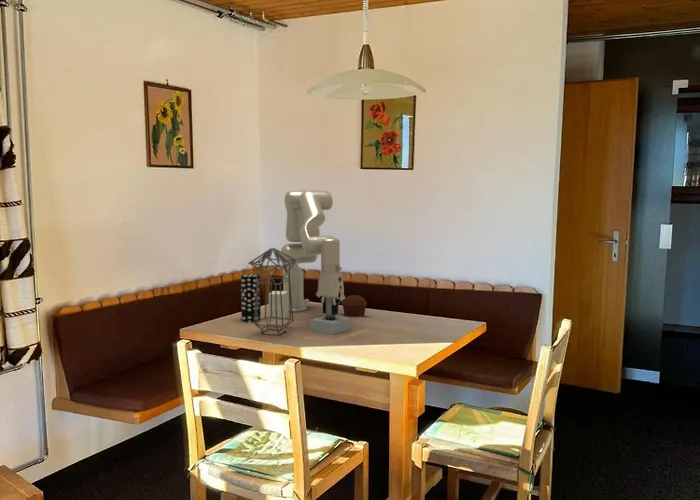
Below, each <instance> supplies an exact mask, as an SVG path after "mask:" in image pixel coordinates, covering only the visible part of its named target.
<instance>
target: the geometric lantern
mask: <svg viewBox="0 0 700 500" xmlns="http://www.w3.org/2000/svg"><path fill="white" fill-rule="evenodd" d="M272 254H274V257H275V258H272ZM281 254H283V255H285V256H287V257H289V258H291V259H289V260H286V259H285V258H284V257H283V256H282V255H281ZM256 260H257V261H256ZM266 260H267V262H266V265H264V263H265V261H266ZM274 261H276V262H277V263H276V262H274ZM288 261H291V262H290V263H289V262H288ZM296 261H297V260H296V259H294V258H292V257H290V256H288V255H286V254H284V253H282V252H281V250H279V249H277V248H275V247H271V248H269V249H267V250H266V251H264V252H263V253H261V254H259V255H258V256H257V257H255V258H254V259H252V260H250V261H249V262H248V265H251V266H252V267H254V268H255V274H256V298H255V313H254V322H253V324H254V325H255V326H256V327H257V329H259V330H260V335H263V336H264V335H267V336H278V337H279V336H282V335H283V334H285V333H286V332H287V330H284V329H287V327H288V326H289V325H290V324H292V323H293V322H294V312H293V308H292V297H291V285H290V269H291V268H292V267H293V265H294V264H295V262H296ZM270 262H271V263H272V264H273V265H269V263H270ZM280 262H281V264H280ZM282 262H283V263H284V264H283V263H282ZM285 262H287V263H288V264H285ZM292 263H293V264H292ZM291 264H292V266H291V267H290V265H291ZM288 265H289V270H287V266H288ZM257 266H258V267H257ZM285 267H286V268H285ZM264 268H265V270H264ZM267 268H271V269H270V270H268V269H267ZM278 268H282V269H283V268H284V270H285V274H286V272H288V271H289V275H288V277H289V279H288V278H284V276H285V274H284V276H283V275H282V277H274V274H275V272H276V271H277V269H278ZM262 270H263V271H262ZM272 271H273V272H272ZM258 272H260V273H261V274H260V279H259V280H258V281H257V274H258ZM270 272H272V274H270ZM263 274H265V276H266V277H263V278H262V276H263ZM287 274H288V273H287ZM265 279H266V280H265ZM269 279H270V282H268V280H269ZM274 279H279V280H280V279H281V281H280V282H279V283H276V282H275V280H274ZM283 279H288V280H287V281H288V283H289V312H288V313H289V317H287V318H283V310H282V295H281V291H282V284H283V283H284V282H283ZM263 280H265V282H263ZM259 281H260V282H259ZM261 281H262V282H261ZM287 281H285V282H287ZM258 283H260V284H266V285H265V303H264V304H265V305H264V317H262V318H261V320H259V321H258ZM268 284H269V285H270V292H271V317H269V316H267V305H268V304H267V301H268ZM273 285H274V291H275V308H276V317H272V291H273ZM278 285H279V291H280V300H281V315H282V318H279V317H277V293H276V291H277V286H278ZM290 300H291V303H290ZM291 311H292V312H291ZM269 318H270V322H268V320H267V319H269ZM271 318H276V320H275V324H272V323H271V322H272V321H271ZM255 319H256V322H255ZM277 319H278V320H281V322H282V323H281V324H278V320H277ZM263 320H265V323H266V324H263V323H262V324H261V323H260V322H261V321H263ZM284 320H287V321H286V323H285V324H284ZM261 326H262V327H261ZM266 327H267V328H266ZM265 328H266V329H265ZM274 328H275V329H274ZM278 328H279V329H278ZM267 331H268V332H270V331H271V332H276V333H277V334H275V333H274V334H271V333H265V332H267ZM281 332H282V333H281Z"/></svg>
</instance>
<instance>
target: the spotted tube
mask: <svg viewBox="0 0 700 500" xmlns="http://www.w3.org/2000/svg"><path fill="white" fill-rule="evenodd" d="M260 277H261V274H258V273H257V281H258V280H259V279H260ZM259 282H261V280H260V281H259ZM240 297H241V299H240V301H241V302H240V303H241V309H240V310H241V322H244V323H254V313H255V298H256V273H247V274H246V273H245V274H241V275H240ZM261 314H262V313H261V283H258V321H259V320H261V319H262V316H261ZM261 321H262V320H261ZM255 322H256V319H255ZM259 322H260V321H259Z"/></svg>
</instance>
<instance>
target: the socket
mask: <svg viewBox="0 0 700 500" xmlns="http://www.w3.org/2000/svg"><path fill="white" fill-rule="evenodd" d="M323 315H324V316H320V317H317V318H313V319H311V318H310V319H309V323H310V324H309V331H310V332H315V333H321V334H327V335H331V336H333V335H337V334H340V333H343V332H346V331H349V330H352V317H348V316H346V317H345V316H339V315H335V320H333V321H330V320H325V314H323Z"/></svg>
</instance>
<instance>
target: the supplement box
mask: <svg viewBox="0 0 700 500" xmlns="http://www.w3.org/2000/svg"><path fill="white" fill-rule="evenodd" d="M276 293H277V317H279V318H282V315H281V300H280V290H276ZM281 295H282V310H283V318H289V312H288V291H283V290H281ZM268 317H271V291H270V292H269V293H268ZM272 317H276V308H275V290H272ZM268 319H269V322H268V323H270V318H268ZM278 320H279V319H277V321H278ZM274 321H276V318H271V322H274Z"/></svg>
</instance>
